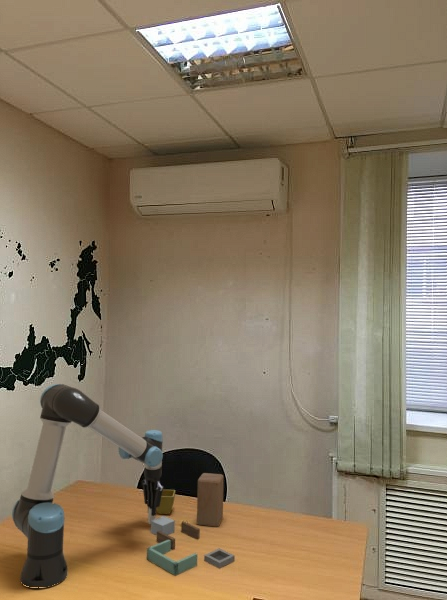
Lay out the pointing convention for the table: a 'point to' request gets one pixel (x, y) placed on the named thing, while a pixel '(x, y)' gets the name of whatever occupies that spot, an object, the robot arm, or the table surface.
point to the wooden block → (210, 499)
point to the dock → (166, 563)
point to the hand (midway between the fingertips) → (151, 522)
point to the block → (163, 525)
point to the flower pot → (166, 502)
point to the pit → (219, 558)
